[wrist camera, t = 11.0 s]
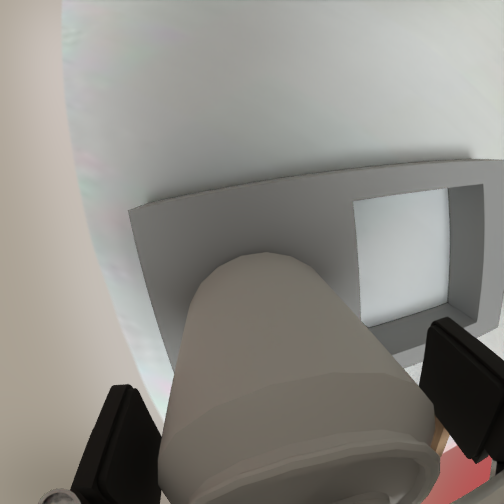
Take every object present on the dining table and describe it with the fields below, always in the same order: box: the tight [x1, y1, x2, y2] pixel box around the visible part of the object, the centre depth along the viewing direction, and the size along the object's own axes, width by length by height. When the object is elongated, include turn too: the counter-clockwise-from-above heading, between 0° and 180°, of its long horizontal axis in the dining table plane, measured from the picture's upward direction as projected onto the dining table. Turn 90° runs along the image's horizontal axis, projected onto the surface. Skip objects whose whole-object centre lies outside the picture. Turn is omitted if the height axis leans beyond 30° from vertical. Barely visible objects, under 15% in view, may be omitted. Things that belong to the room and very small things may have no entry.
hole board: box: [128, 159, 504, 373], centre depth 18 cm, size 13×24×4 cm, turn 100°
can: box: [158, 252, 440, 504], centre depth 10 cm, size 8×8×12 cm
